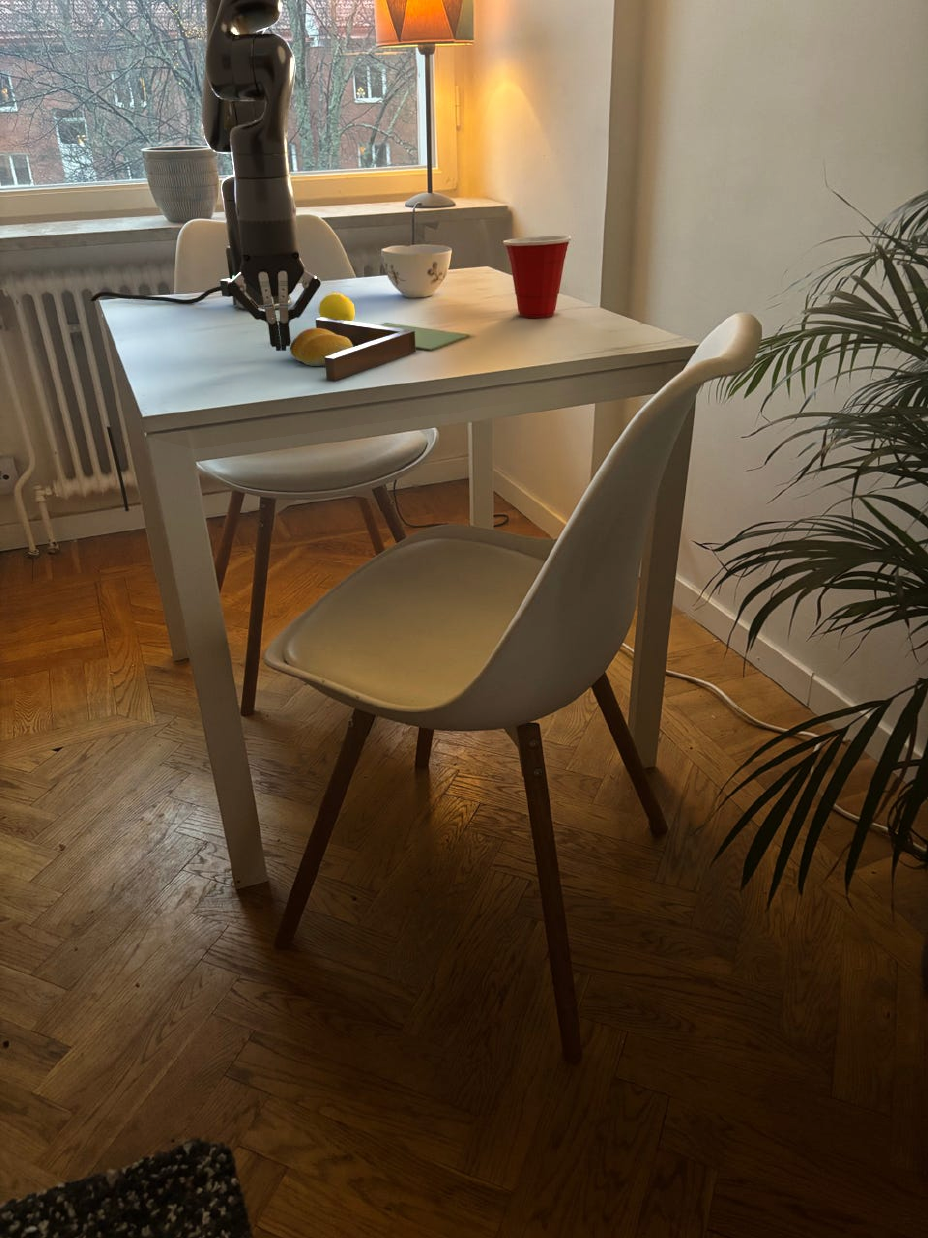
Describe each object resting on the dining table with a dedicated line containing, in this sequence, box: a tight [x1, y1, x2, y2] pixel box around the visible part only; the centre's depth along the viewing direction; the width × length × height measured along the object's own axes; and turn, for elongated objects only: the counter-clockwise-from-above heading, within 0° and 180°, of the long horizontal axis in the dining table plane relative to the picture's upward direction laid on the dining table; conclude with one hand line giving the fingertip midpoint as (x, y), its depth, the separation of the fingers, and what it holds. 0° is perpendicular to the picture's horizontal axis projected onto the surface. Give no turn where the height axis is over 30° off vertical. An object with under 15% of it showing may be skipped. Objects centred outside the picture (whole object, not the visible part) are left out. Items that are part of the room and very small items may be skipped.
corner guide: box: [315, 317, 417, 382], centre depth 131 cm, size 18×18×3 cm
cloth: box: [378, 322, 470, 352], centre depth 141 cm, size 16×10×1 cm, turn 56°
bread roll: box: [289, 327, 354, 367], centre depth 130 cm, size 8×9×4 cm
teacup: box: [380, 243, 453, 299], centre depth 168 cm, size 15×12×8 cm
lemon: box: [318, 292, 356, 322], centre depth 146 cm, size 7×5×5 cm
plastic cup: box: [502, 235, 572, 319], centre depth 150 cm, size 11×11×12 cm
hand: (281, 349), depth 130 cm, fingers closed
